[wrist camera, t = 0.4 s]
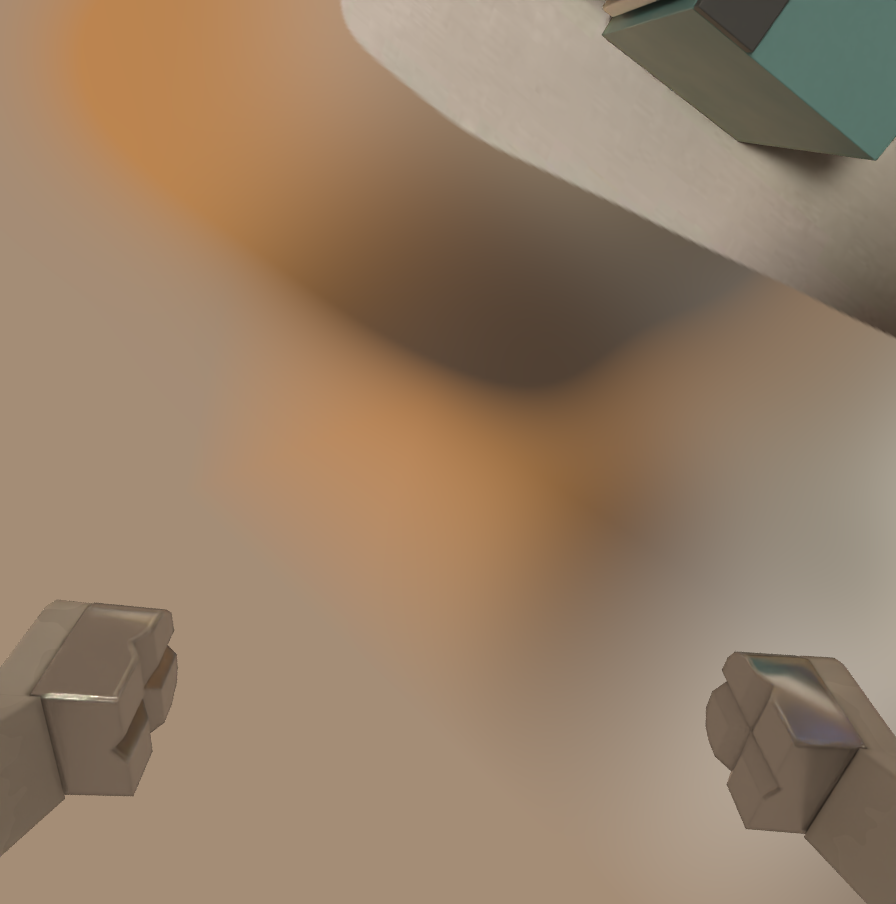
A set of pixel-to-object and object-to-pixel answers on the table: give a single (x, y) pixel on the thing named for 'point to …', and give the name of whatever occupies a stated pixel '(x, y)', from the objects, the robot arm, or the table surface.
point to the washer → (775, 67)
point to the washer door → (623, 6)
